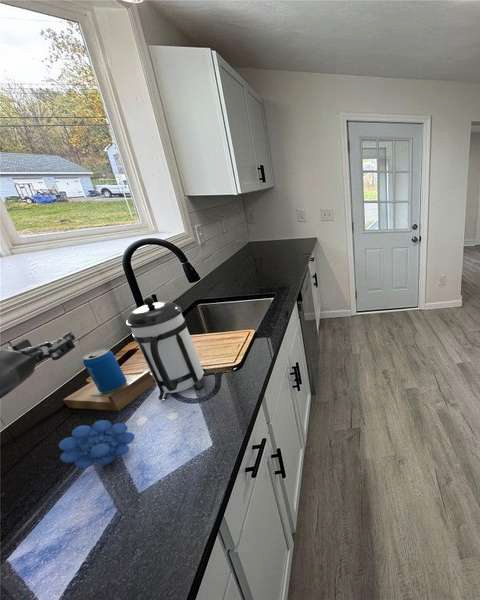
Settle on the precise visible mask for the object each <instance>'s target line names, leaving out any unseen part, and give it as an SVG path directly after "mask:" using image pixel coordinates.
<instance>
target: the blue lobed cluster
mask: <svg viewBox="0 0 480 600" xmlns="http://www.w3.org/2000/svg"><path fill="white" fill-rule="evenodd" d="M128 429H129V427H128V425H127V424H126V423H123V422H117V423H114V424H112V422H110V421H109V420H107V419H100V420H96V421H95V422H94V423H93V424H92V425H91V426H90V425H83V424H82V425H79V426H76V427H75V428H74V429H72V431H71V436H68V437H65V438H63V439H62V440H60V442H59V443H58V448H59V449H60V450H61V451H63V452H62V453H61V454H60V457H59V458H60V460H61V461H62V462H63V463H66V464H69V463H74V465H75V466H76V467H77V468H78V469H88V468H90V467H92V466H93V465H94V464H95V463H96V464H97V465H98V466H108V465H109V464H111V463H113V461H114V460H115V457H122V456H124V455H126V454H127V453H128V452H129V451H130V446H129V445H128V444H130V443H132V442H133V441H134V440H135V435H134V433H133V432H130V431H128Z"/></svg>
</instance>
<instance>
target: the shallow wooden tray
mask: <svg viewBox="0 0 480 600" xmlns="http://www.w3.org/2000/svg"><path fill="white" fill-rule="evenodd" d="M124 376H125V378H126V380H127V381H126V383H125V384H124V386H123V387H121V388H120V389H118V390H116V391H113V392H110V393H103V392H99V390H98V388H97V387H96V385H95V383H94V381H93V380H92V381H90V383H87V384H85V385H84V386H83V387H81V388H79V389H78V390H77V391H75V392H72V394H70V395H67V397H65V398H63V399H62V401H63V402H64V404H65V405H66V407H67V408H68V409H82V410H83V409H85V410H98V411H100V410H101V411H114V412H119V411H121V410H122V409H124V408H125V407H126V406H128V405H130V403H132V402H133V401H135V400H136V399H138V397H140V396H141V395H143V393H145V392H146V391H148V390H149V389H150V388H152V387H153V386H154V385H155V384H156V382H155V380H154V378H153V375H152V373H151V371H150V370H145V371H144V372H142V373H141V374H139V375H132V374H131V375H129V374H124Z"/></svg>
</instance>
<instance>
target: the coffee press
mask: <svg viewBox="0 0 480 600" xmlns="http://www.w3.org/2000/svg"><path fill="white" fill-rule="evenodd" d="M182 312H183V309H182V307H181V306H179V305H178V304H177V303H175V302H173V301H166V300H163V301H155V300H154V298H152V297H146V298H144V300H143V305H141V306H139V307H137V308H135V309H133V310H132V311H130V313H129V314H128V316H127V318H126V319H127V320H126V321H125V324H126V327H128V328H129V329H130V331H131V333H132V337H133V340H134V341H135V342H136V343H137V346H138V347H139V350H140V352H141V354H142V356H143V358H144V360H145V363H146V364H147V366H148V370H149V372H150V374H151V376H152V378H153V381H154V383H155V384H156V387H157V388H158V389H159V396H158V401H162V402H165V401H167V400H168V397H169V395H170V394H173V393H174V394H175V393H179V392H183V391H186V390H187V389H190V388H194V389H195V390H197V391H201V390H202V389H203V388H204V384H202V383H201V382H200V381H201V380H202V378H203V377H204V374H206V368H203V365H202V363H201V360H200V358H199V355H198V352H197V350H196V348H195V345H194V342H193V340H192V337H191V334H190V331H189V330H188V324H187V322H186V319H185V318H184V316H183V314H182Z"/></svg>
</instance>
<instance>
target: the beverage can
mask: <svg viewBox="0 0 480 600" xmlns="http://www.w3.org/2000/svg"><path fill="white" fill-rule="evenodd" d="M82 359H83V360H82V364H83V366H84V367H85V369H86V370H87V373H88V374H89V377H90V378H91V379H92V382H93V381H94V383H95V385H96V387H97V388H98V390H99V392H103V393H110V392H113V391H116V390H118V389H120V388H121V387H123V386H124V384H125V383H126V381H127V380H126V378H125V376H124V375H125V374H124V372H123V370H122V368H121V366H120V365H119V362H118V360H117V358H116V356H115V354H114V352H113V351H111V350H110V349H109V348H105V347H104V348H99V349H96V350H93V351H90V352H88V353H86V354H85V355H84V356H83V357H82Z"/></svg>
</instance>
